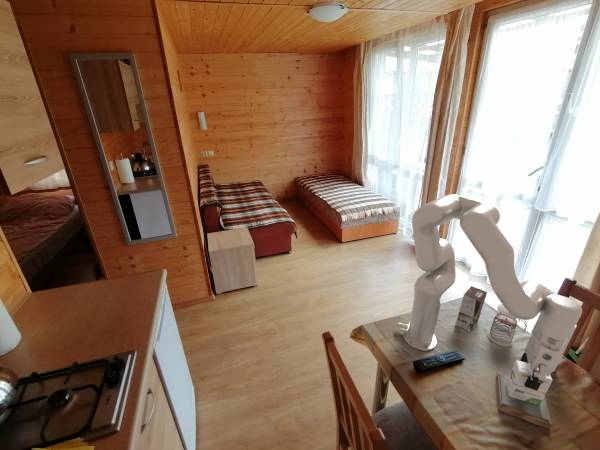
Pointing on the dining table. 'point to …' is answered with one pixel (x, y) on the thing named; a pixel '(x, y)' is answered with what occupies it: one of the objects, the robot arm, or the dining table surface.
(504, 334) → the french press
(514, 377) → the ink box
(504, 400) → the stand
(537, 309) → the robot arm
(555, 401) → the dining table surface
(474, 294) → the coffee box
